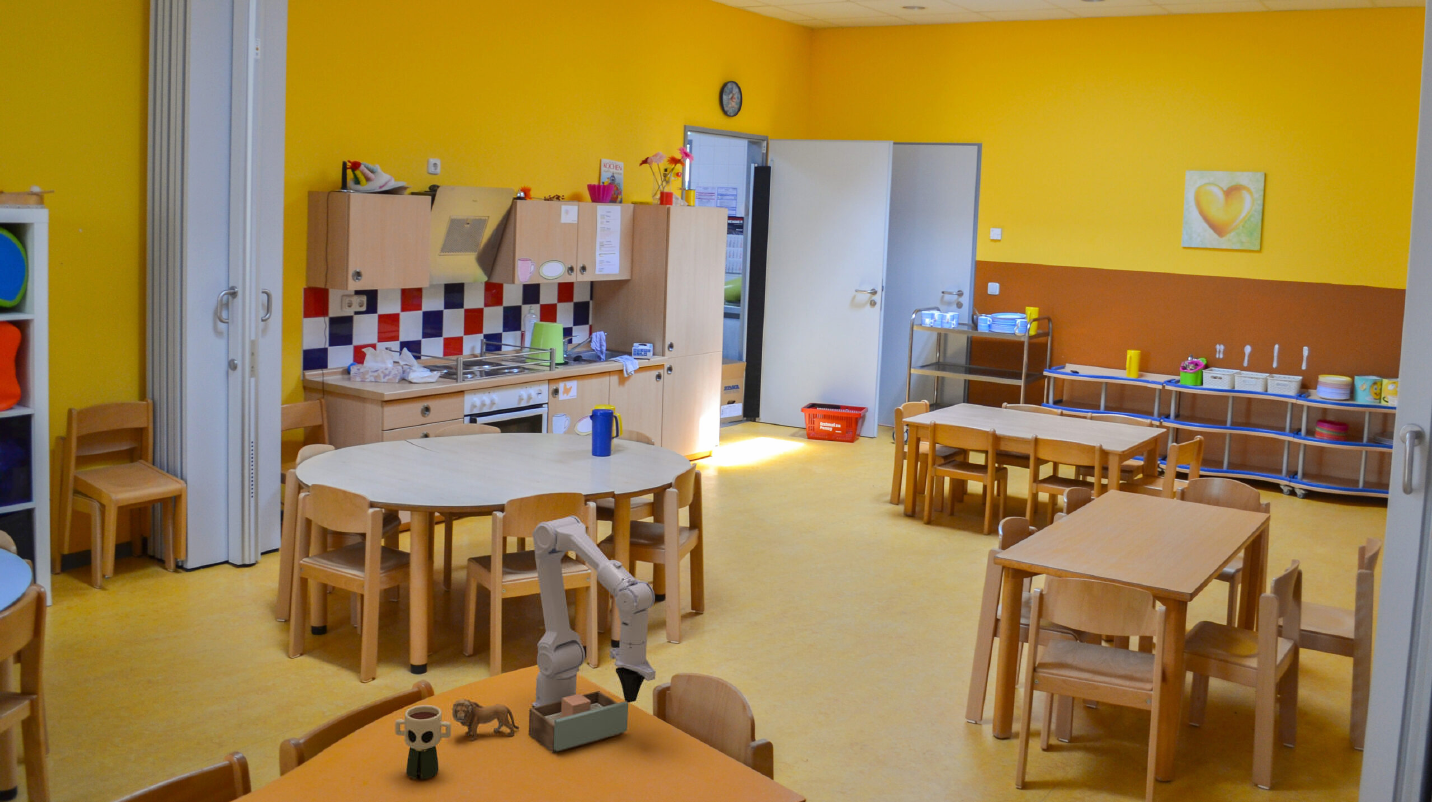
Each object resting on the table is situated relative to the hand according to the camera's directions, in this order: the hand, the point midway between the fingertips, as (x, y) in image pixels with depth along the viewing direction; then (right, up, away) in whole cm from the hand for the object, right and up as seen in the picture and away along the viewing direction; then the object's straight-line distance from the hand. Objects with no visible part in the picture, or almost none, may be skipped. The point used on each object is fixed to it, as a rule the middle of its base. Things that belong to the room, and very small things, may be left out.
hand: (630, 700), depth 251 cm
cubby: (-12, -8, +4) cm, 15 cm away
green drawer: (-11, -7, +3) cm, 14 cm away
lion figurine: (-31, -8, 0) cm, 32 cm away
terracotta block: (-12, -6, +4) cm, 14 cm away
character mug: (-40, -10, -17) cm, 45 cm away
